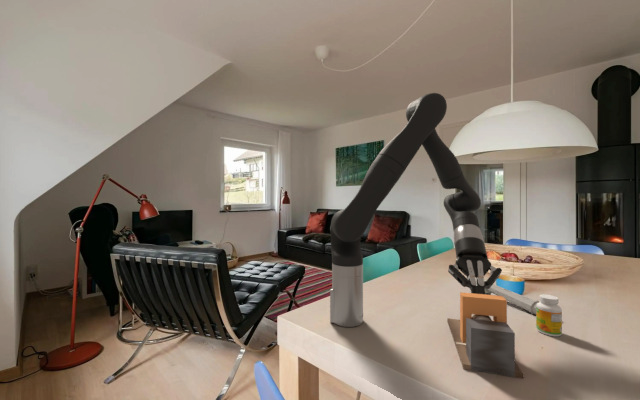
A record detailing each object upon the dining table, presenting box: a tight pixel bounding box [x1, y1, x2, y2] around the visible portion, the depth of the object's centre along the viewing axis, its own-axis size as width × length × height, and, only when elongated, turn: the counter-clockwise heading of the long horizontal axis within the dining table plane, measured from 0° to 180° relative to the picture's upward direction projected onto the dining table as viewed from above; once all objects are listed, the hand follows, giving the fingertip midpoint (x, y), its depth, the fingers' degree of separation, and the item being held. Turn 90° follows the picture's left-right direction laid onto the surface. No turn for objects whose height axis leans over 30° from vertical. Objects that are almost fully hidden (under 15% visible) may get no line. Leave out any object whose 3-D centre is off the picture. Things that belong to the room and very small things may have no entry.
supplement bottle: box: [535, 293, 563, 338], centre depth 76 cm, size 5×5×10 cm
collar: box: [459, 291, 508, 343], centre depth 65 cm, size 9×3×11 cm, turn 73°
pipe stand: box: [447, 314, 524, 379], centre depth 69 cm, size 11×24×9 cm, turn 163°
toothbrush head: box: [476, 278, 540, 316], centre depth 97 cm, size 5×7×25 cm
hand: (479, 302), depth 67 cm, fingers closed
